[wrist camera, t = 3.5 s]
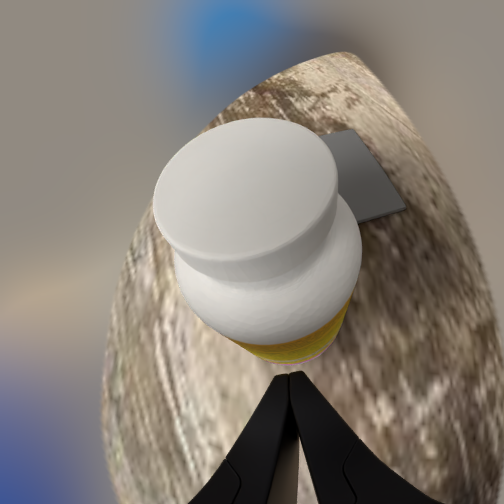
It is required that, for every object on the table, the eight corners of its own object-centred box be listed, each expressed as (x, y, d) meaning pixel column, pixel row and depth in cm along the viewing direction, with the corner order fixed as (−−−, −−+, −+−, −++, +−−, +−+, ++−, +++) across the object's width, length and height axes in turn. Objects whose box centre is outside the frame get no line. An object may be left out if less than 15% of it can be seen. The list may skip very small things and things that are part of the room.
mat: (405, 209, 19) (406, 206, 19) (244, 257, 20) (243, 254, 20) (352, 132, 24) (352, 129, 24) (224, 166, 25) (223, 163, 25)
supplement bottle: (362, 315, 16) (433, 171, 5) (284, 387, 15) (208, 388, 4) (292, 250, 20) (255, 81, 9) (220, 312, 19) (95, 192, 8)
